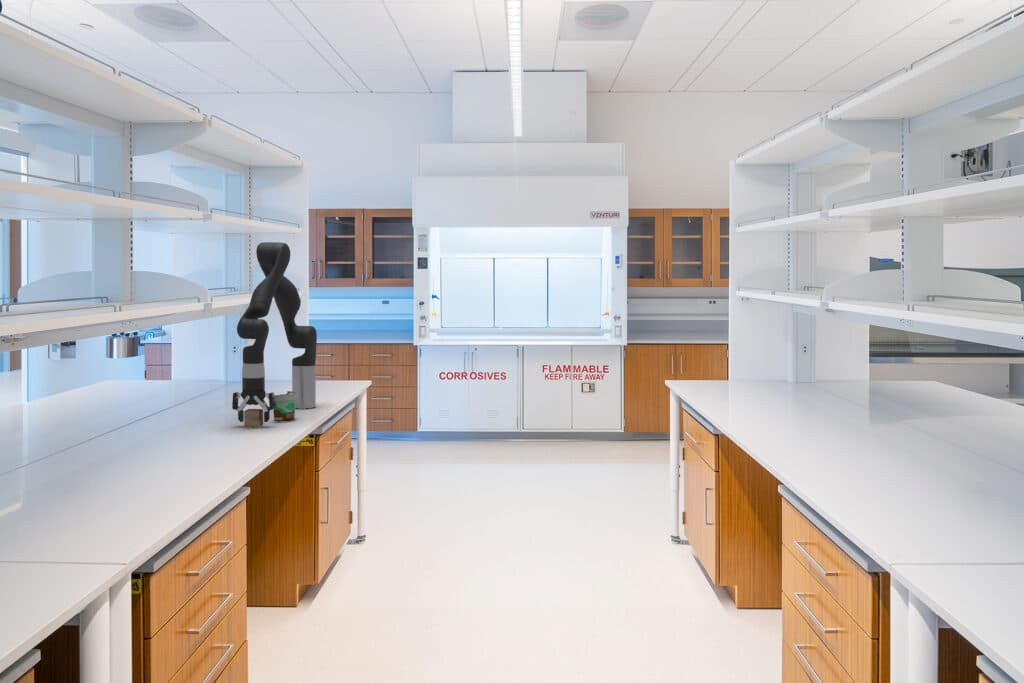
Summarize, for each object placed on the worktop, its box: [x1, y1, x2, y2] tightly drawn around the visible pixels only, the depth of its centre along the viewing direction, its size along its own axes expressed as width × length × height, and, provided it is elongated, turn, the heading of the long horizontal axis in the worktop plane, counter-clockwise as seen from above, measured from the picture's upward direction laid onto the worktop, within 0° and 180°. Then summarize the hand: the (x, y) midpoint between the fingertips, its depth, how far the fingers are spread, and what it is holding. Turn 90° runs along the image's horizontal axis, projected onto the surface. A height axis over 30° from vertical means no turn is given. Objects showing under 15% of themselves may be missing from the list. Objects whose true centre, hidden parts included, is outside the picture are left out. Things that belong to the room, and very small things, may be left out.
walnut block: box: [243, 408, 264, 428], centre depth 276 cm, size 5×5×6 cm
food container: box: [272, 390, 297, 422], centre depth 290 cm, size 12×6×10 cm, turn 168°
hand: (253, 421), depth 276 cm, fingers open, 8 cm apart
